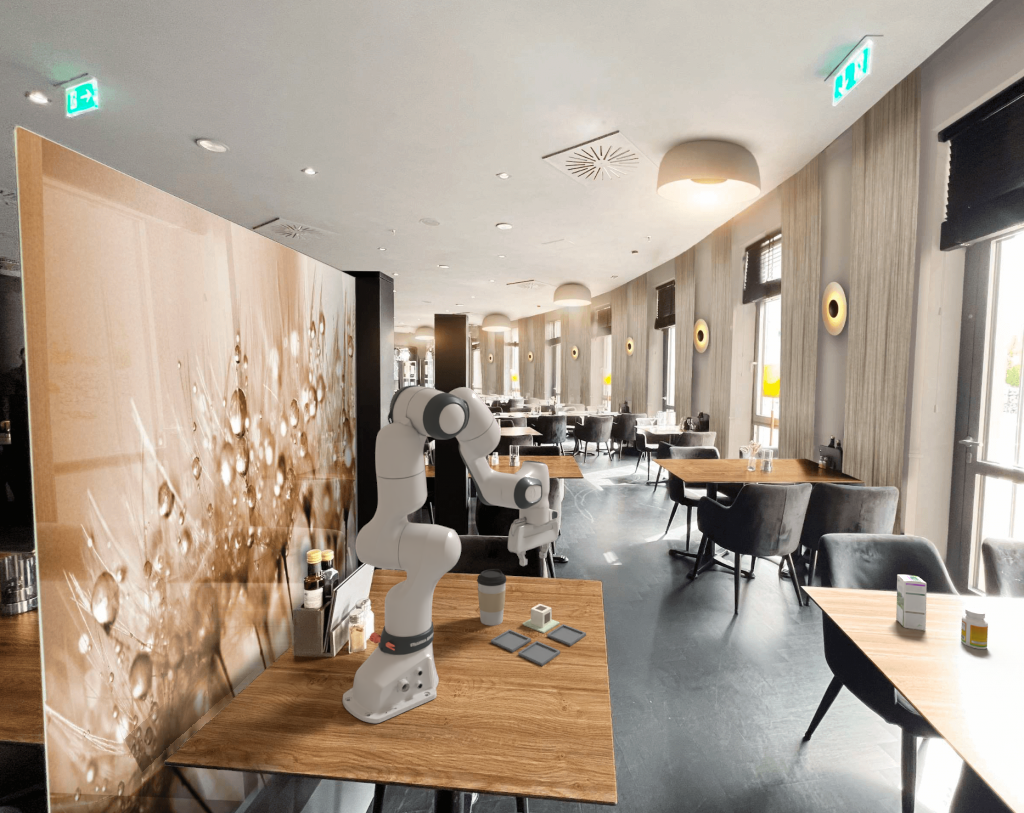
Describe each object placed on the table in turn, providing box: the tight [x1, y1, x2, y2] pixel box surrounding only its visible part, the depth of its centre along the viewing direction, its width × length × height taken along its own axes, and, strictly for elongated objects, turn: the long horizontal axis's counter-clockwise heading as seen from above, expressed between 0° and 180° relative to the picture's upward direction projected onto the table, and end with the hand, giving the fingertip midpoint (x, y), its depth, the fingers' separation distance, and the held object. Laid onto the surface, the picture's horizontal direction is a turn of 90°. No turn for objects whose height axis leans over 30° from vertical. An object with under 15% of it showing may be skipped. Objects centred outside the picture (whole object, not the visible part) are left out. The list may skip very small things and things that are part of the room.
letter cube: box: [530, 603, 553, 628], centre depth 150 cm, size 4×5×5 cm
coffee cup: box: [476, 568, 507, 627], centre depth 153 cm, size 9×9×15 cm
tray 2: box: [517, 640, 561, 667], centre depth 133 cm, size 8×8×1 cm
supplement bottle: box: [960, 607, 989, 650], centre depth 139 cm, size 5×5×10 cm
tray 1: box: [490, 629, 532, 654], centre depth 140 cm, size 8×8×1 cm
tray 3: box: [546, 623, 587, 647], centre depth 143 cm, size 8×8×1 cm
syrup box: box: [895, 574, 927, 631], centre depth 151 cm, size 6×6×14 cm
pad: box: [522, 618, 560, 634], centre depth 151 cm, size 8×8×1 cm
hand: (533, 561), depth 148 cm, fingers open, 8 cm apart
